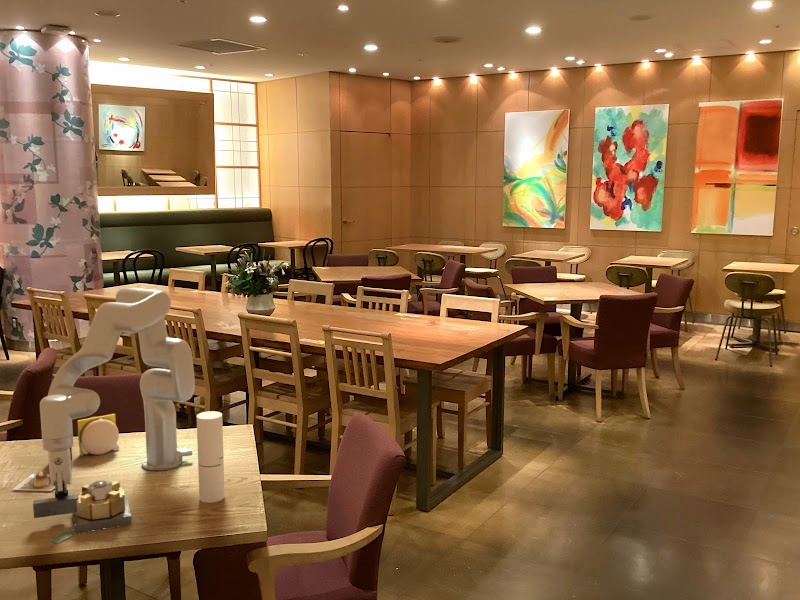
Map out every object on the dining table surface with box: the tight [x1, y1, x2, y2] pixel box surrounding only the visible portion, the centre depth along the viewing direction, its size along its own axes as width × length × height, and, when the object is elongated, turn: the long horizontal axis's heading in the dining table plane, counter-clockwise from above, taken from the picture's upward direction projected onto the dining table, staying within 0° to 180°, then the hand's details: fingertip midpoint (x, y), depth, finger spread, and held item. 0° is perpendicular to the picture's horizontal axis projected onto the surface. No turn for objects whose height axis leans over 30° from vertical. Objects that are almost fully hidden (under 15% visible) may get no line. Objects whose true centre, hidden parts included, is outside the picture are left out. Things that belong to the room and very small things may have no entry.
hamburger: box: [77, 413, 120, 456], centre depth 251 cm, size 12×8×12 cm
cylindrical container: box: [196, 410, 226, 504], centre depth 216 cm, size 7×7×25 cm
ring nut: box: [32, 480, 126, 519], centre depth 202 cm, size 22×12×6 cm, turn 110°
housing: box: [48, 480, 132, 545], centre depth 201 cm, size 20×18×10 cm
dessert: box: [11, 470, 55, 492], centre depth 226 cm, size 12×12×5 cm
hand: (62, 505), depth 204 cm, fingers closed
